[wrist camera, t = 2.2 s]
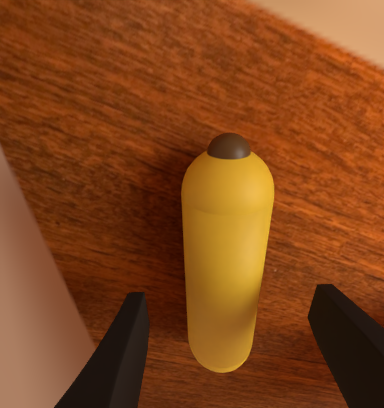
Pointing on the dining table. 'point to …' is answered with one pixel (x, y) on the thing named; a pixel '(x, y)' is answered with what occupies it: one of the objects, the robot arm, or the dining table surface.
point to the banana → (225, 249)
